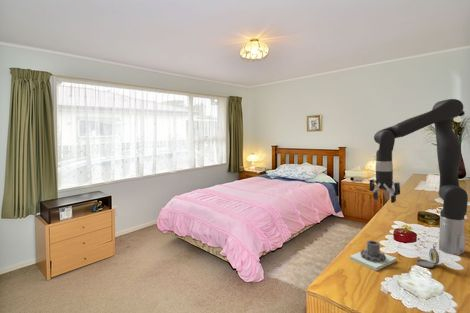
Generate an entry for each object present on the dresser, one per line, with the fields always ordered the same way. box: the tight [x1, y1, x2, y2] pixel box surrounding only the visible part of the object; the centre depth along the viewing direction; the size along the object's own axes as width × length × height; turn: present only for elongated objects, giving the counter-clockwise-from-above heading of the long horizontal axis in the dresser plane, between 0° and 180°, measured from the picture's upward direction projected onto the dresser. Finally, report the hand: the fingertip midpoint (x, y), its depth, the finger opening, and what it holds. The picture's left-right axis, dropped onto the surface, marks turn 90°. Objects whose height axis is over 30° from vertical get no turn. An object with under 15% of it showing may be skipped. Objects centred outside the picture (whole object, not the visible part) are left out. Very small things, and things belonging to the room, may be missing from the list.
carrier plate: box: [349, 251, 397, 272], centre depth 122 cm, size 13×16×6 cm
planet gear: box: [360, 240, 386, 263], centre depth 122 cm, size 10×10×7 cm
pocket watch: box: [415, 243, 440, 269], centre depth 116 cm, size 8×8×10 cm
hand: (384, 201), depth 132 cm, fingers open, 8 cm apart
